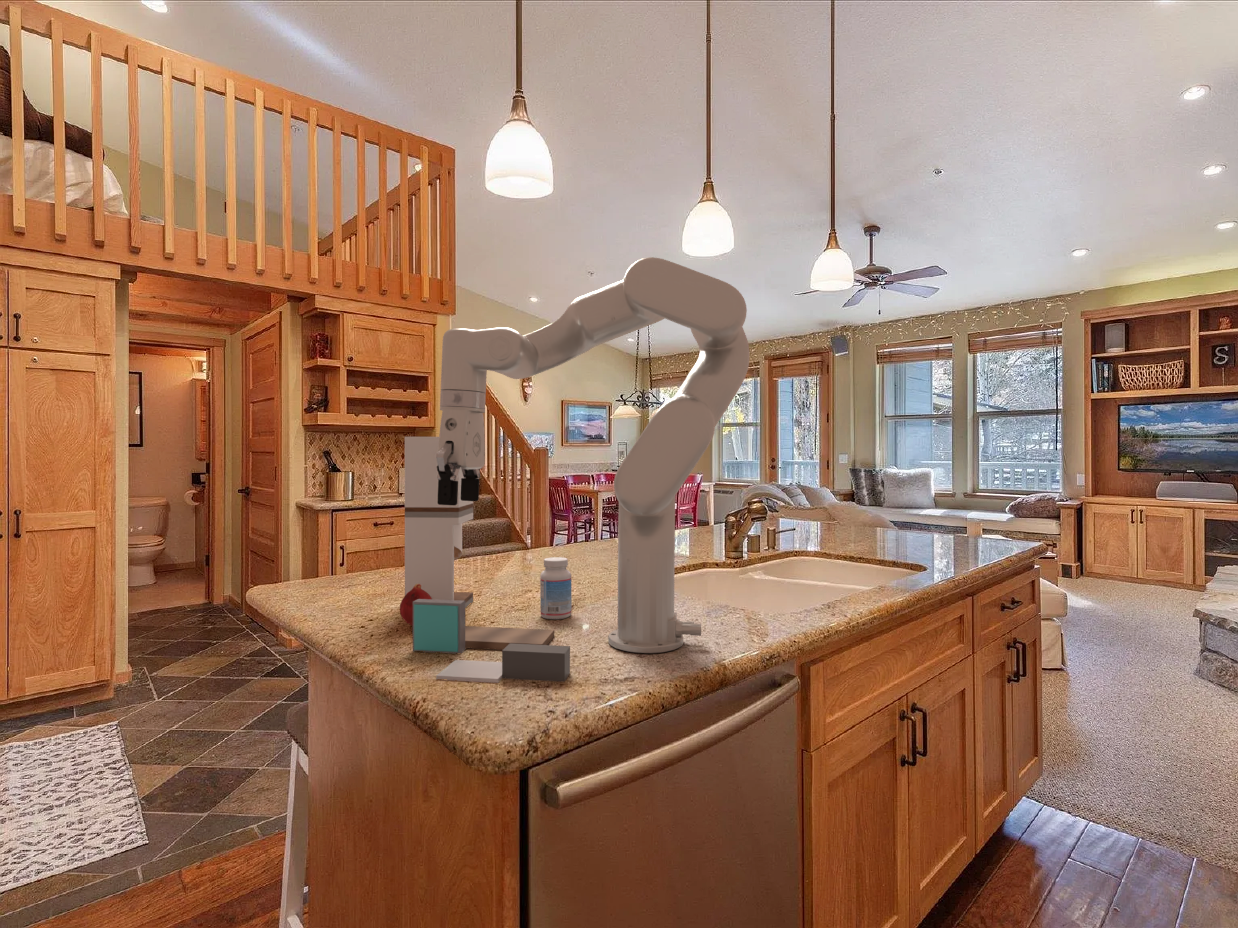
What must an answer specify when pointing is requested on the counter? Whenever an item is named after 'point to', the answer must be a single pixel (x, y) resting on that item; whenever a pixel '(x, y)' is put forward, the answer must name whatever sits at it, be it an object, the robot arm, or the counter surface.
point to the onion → (408, 599)
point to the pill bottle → (555, 589)
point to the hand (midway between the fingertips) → (458, 502)
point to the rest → (504, 637)
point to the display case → (431, 524)
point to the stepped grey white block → (515, 665)
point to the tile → (439, 625)
